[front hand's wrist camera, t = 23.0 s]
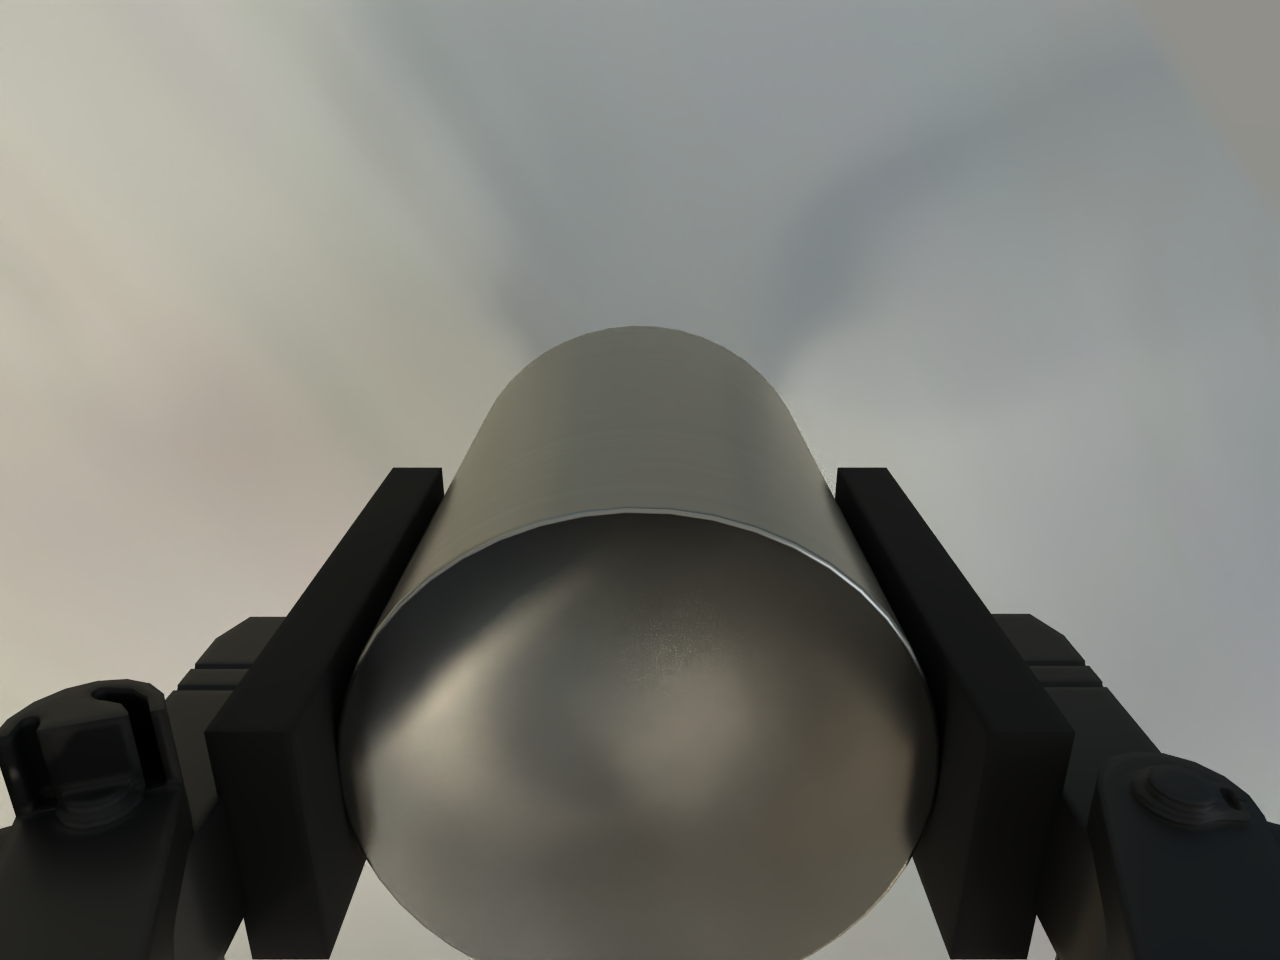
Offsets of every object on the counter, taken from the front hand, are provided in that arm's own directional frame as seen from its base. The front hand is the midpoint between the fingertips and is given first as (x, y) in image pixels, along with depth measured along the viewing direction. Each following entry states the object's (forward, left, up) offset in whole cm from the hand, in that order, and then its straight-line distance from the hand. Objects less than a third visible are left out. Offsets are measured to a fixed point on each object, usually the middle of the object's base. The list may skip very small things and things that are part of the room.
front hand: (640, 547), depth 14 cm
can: (0, 0, -2) cm, 2 cm away
